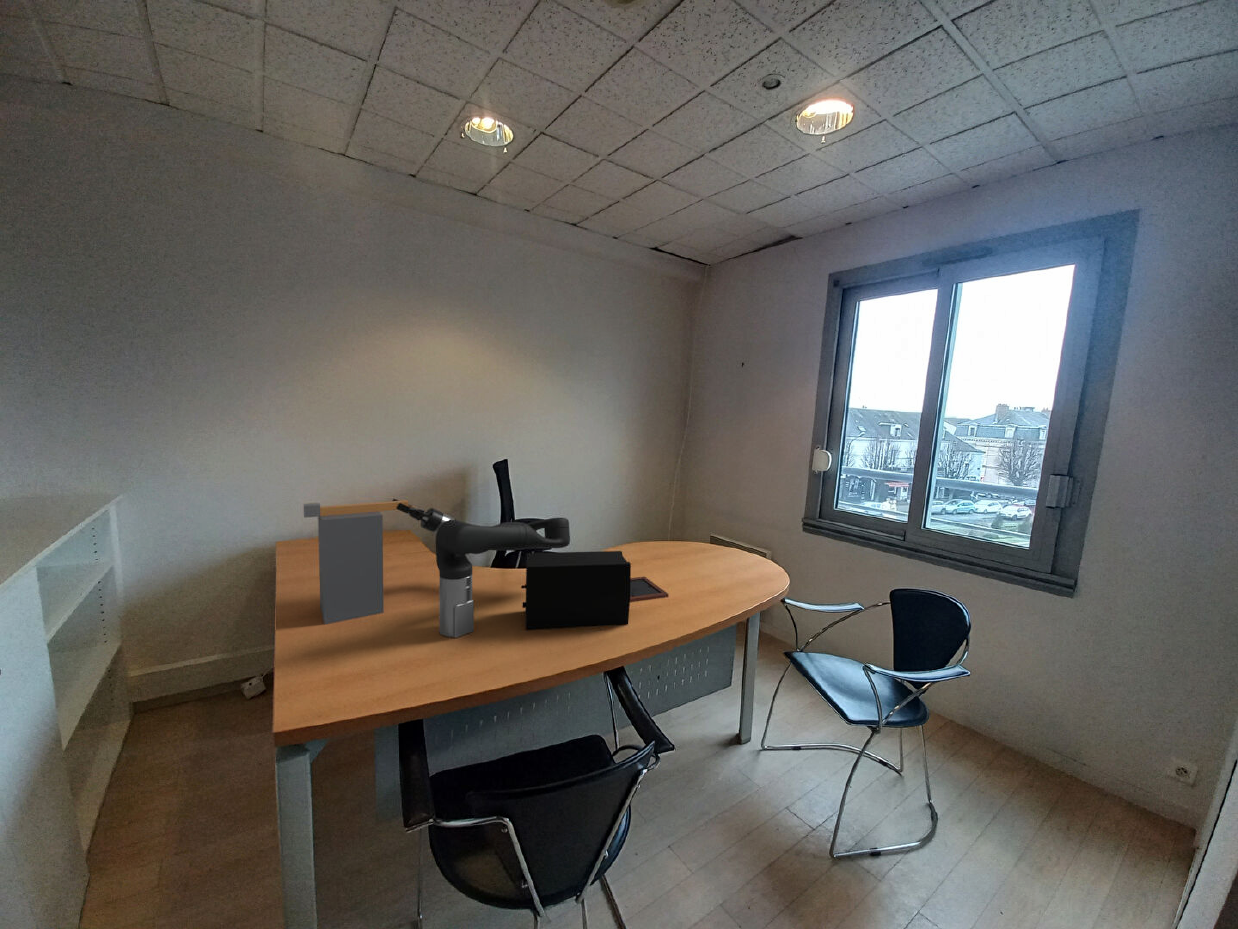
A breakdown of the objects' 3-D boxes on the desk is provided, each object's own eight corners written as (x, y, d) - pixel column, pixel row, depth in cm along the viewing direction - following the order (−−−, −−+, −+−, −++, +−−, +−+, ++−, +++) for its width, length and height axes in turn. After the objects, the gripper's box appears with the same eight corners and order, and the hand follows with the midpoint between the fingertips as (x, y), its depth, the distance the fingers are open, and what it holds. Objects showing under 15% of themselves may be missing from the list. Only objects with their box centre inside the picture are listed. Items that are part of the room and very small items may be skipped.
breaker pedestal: (375, 595, 158) (374, 506, 155) (384, 612, 145) (383, 514, 142) (320, 606, 148) (317, 510, 145) (324, 624, 135) (322, 520, 132)
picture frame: (606, 607, 158) (668, 598, 168) (606, 601, 157) (668, 593, 167) (587, 587, 176) (644, 580, 186) (587, 582, 176) (644, 575, 186)
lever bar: (405, 507, 155) (405, 497, 155) (408, 509, 152) (408, 499, 152) (303, 515, 138) (303, 503, 137) (304, 517, 135) (304, 506, 134)
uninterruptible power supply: (629, 626, 142) (631, 564, 140) (520, 632, 135) (521, 568, 133) (618, 605, 158) (620, 550, 156) (520, 610, 151) (521, 552, 149)
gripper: (438, 536, 154) (393, 517, 145) (427, 527, 165) (384, 509, 156) (449, 516, 156) (405, 496, 147) (437, 509, 167) (396, 490, 158)
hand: (394, 503), depth 151 cm, fingers open, 8 cm apart
